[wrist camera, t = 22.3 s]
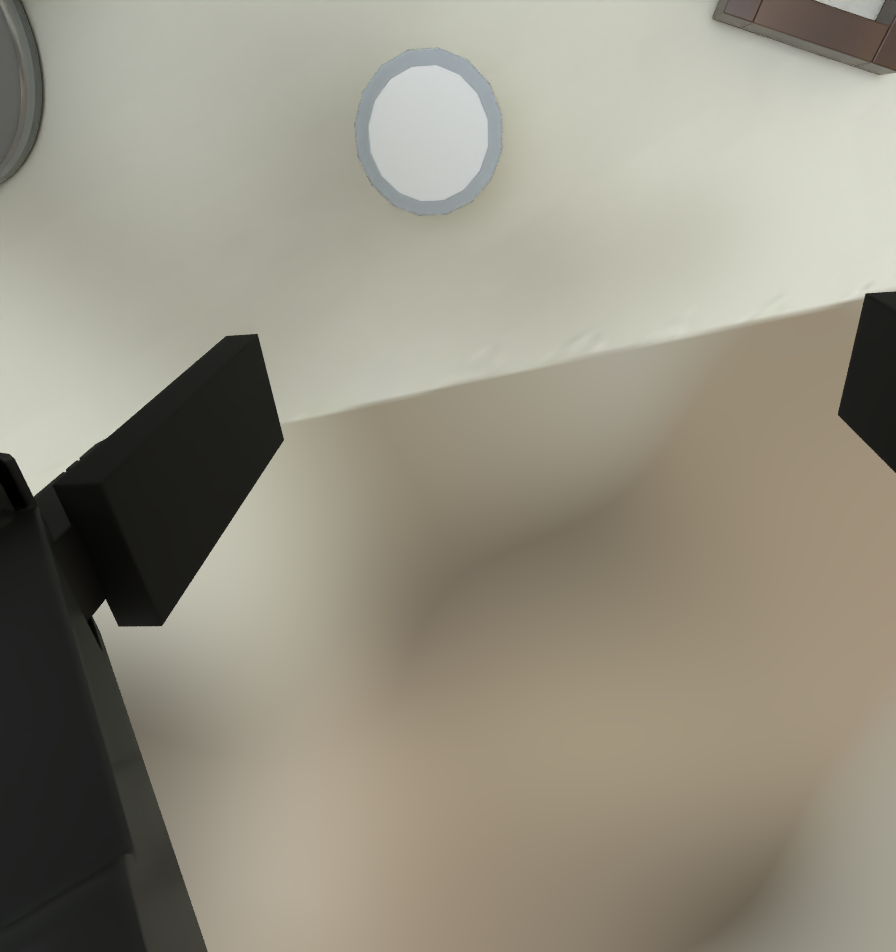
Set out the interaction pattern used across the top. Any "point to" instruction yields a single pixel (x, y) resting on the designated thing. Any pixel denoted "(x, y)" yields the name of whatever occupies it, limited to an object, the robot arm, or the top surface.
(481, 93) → the white short cylinder
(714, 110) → the top surface
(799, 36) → the frame
